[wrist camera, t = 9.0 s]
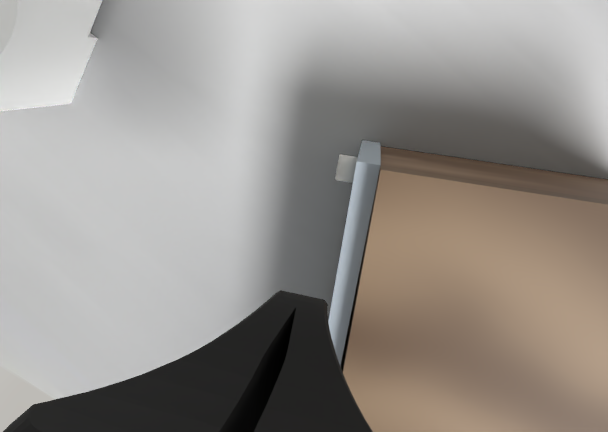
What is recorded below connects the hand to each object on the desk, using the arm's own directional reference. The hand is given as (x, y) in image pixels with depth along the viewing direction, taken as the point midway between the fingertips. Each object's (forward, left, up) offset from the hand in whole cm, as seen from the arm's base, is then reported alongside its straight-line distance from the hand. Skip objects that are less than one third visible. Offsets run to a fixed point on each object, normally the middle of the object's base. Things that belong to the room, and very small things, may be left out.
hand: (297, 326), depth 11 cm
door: (-3, -1, -9) cm, 10 cm away
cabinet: (-3, -7, -9) cm, 12 cm away
